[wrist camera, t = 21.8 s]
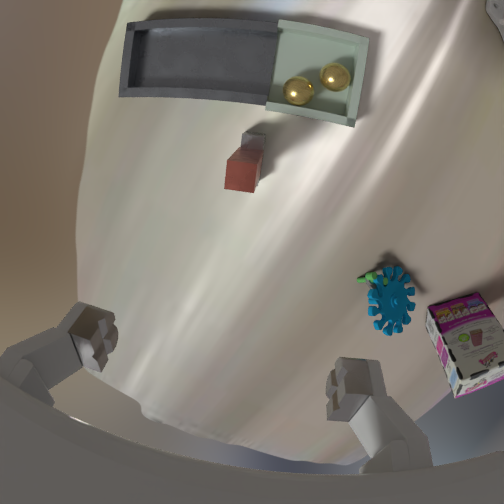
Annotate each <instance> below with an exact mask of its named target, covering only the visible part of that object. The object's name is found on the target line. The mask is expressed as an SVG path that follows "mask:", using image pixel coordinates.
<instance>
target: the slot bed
mask: <svg viewBox="0 0 504 504" xmlns="http://www.w3.org/2000/svg"><path fill="white" fill-rule="evenodd" d="M277 37H278V23H273V22H265V21H255V20H242V19H223V18H180V19H161V20H149V21H139V22H130V23H127V28H126V34H125V41H124V49H123V57H122V65H121V75H120V86H119V97H174V98H194V99H209V100H220V101H231V102H240V103H248V104H256V105H263V106H266V102H267V101H268V97H269V90H270V83H271V77H272V70H273V63H274V57H275V50H276V44H277Z"/></svg>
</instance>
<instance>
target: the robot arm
mask: <svg viewBox="0 0 504 504" xmlns="http://www.w3.org/2000/svg"><path fill="white" fill-rule="evenodd" d="M494 6H495V7H494ZM486 11H487V13H488V15H489V16H490V18H491V19H492V21H493V22H494V23H495V25H496V26H497V27H498V29H499V31H500V33H501V36H502V38H503V41H504V0H487V3H486ZM114 321H115V316H114V313H113V312H110V311H107V310H104V309H101V308H98V307H95V306H92V305H89V304H86V303H83V302H80V301H79V302H77V303H76V304H75V305H74V306H73V307H72V309H71V310H70V311H69V312H68V314H67V315H66V316H65V317H64V319H63V320H62V321H61V323H60V324H59V325H58V326H57V328H54V327H53V328H50V329H48V330H46V331H44V332H42V333H40V334H37V335H35V336H33V337H30V338H28V339H26V340H24V341H21V342H19V343H17V344H15V345H13V346H10V347H8V348H7V349H6V350H5V351H4V353H3V354H2V356H1V357H0V504H504V451H496V452H493V453H490V454H486V455H483V456H479V457H475V458H471V459H467V460H463V461H459V462H454V463H449V464H444V465H439V466H433V463H432V457H431V452H430V447H429V442H428V437H427V436H426V435H425V434H424V433H423V432H422V430H421V429H420V428H419V427H418V426H417V425H416V424H415V423H414V422H413V420H412V419H411V418H410V417H409V416H408V415H407V414H406V413H405V412H404V411H403V409H402V408H401V407H400V406H399V405H398V404H397V403H396V402H395V401H394V399H393V398H392V397H391V396H387V393H386V388H385V384H384V379H383V374H382V370H381V366H380V362H379V361H378V360H368V359H358V358H347V357H339V358H338V359H337V360H336V362H335V369H333V370H332V371H330V373H329V376H328V378H327V382H326V396H327V397H328V398H329V399H330V400H329V402H328V403H327V405H326V408H327V420H331V421H344V422H349V425H350V426H351V428H352V429H353V431H354V432H355V434H356V436H357V437H358V439H359V440H360V442H361V443H362V445H363V447H364V448H365V450H366V451H367V453H368V454H369V456H370V457H371V460H369V461H368V462H367V463H365V464H364V465H363V466H362V467H361V468H359V474H350V475H321V474H318V475H317V474H298V473H284V472H274V471H264V470H256V469H248V468H242V467H236V466H230V465H223V464H219V463H214V462H209V461H204V460H199V459H195V458H191V457H187V456H183V455H179V454H175V453H171V452H167V451H163V450H161V449H157V448H153V447H150V446H147V445H144V444H141V443H138V442H135V441H132V440H129V439H126V438H124V437H120V436H118V435H115V434H113V433H110V432H107V431H105V430H102V429H100V428H98V427H95V426H93V425H90V424H88V423H85V422H83V421H81V420H79V419H77V418H75V417H72V416H70V415H68V414H66V413H64V412H62V411H60V410H58V409H56V408H54V407H53V405H54V403H55V401H54V398H53V397H52V395H51V394H50V393H49V391H48V390H49V389H51V388H52V387H54V386H55V385H57V384H58V383H60V382H61V381H63V380H64V379H66V378H67V377H69V376H70V375H72V374H73V373H75V372H76V371H78V370H79V369H81V368H82V366H84V367H86V368H89V369H92V370H95V371H98V372H102V370H103V369H104V367H105V365H106V363H107V361H108V356H107V354H109V353H111V352H113V351H114V349H115V347H116V345H117V341H118V329H117V327H116V326H115V325H114V324H113V323H114Z"/></svg>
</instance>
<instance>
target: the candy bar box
mask: <svg viewBox="0 0 504 504" xmlns="http://www.w3.org/2000/svg"><path fill="white" fill-rule="evenodd" d="M425 326H426V329H427V331H428V333H429V336H430V338H431V340H432V342H433V345H434V347H435V349H436V351H437V354H438V356H439V359H440V361H441V364H442V366H443V369H444V371H445V374H446V376H447V379H448V381H449V384H450V387H451V389H452V392H453V395H454V398H458V397H460V396H463V395H466V394H469V393H471V392H474V391H476V390H479V389H481V388H484V387H486V386H489V385H491V384H493V383H495V382H498V381H500V380H502V379H504V330H503V328H502V326H501V325H500V323H499V322H498V320H497V319H496V317H495V316H494V314H493V313H492V311H491V310H490V308H489V307H488V305H487V304H486V302H485V301H484V299H483V298H482V297H481V295H480V294H479V293H474V294H471V295H467V296H464V297H461V298H458V299H454V300H451V301H447V302H444V303H441V304H437V305H433V306H429V307H427V317H426V324H425Z"/></svg>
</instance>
